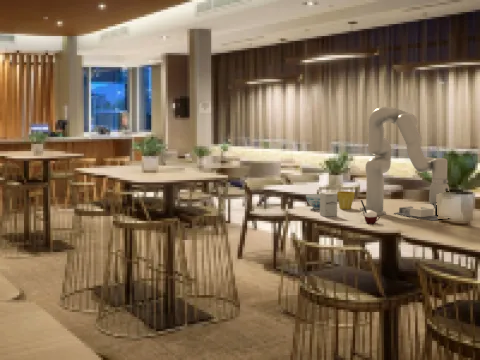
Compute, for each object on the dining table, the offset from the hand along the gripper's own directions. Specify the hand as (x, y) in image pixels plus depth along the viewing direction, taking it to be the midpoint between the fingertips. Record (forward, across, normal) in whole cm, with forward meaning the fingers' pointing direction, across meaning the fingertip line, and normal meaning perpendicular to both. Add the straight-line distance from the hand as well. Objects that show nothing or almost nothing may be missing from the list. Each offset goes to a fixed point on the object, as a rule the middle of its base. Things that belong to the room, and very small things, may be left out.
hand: (438, 216), depth 319 cm
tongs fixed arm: (+1, +18, -2) cm, 18 cm away
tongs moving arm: (+2, +16, 0) cm, 16 cm away
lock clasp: (+1, +11, 0) cm, 11 cm away
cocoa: (+2, +12, +38) cm, 40 cm away
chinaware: (+2, +65, +28) cm, 70 cm away
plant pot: (+2, +57, +14) cm, 58 cm away
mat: (+2, +13, -2) cm, 13 cm away
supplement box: (+2, +42, +40) cm, 58 cm away
